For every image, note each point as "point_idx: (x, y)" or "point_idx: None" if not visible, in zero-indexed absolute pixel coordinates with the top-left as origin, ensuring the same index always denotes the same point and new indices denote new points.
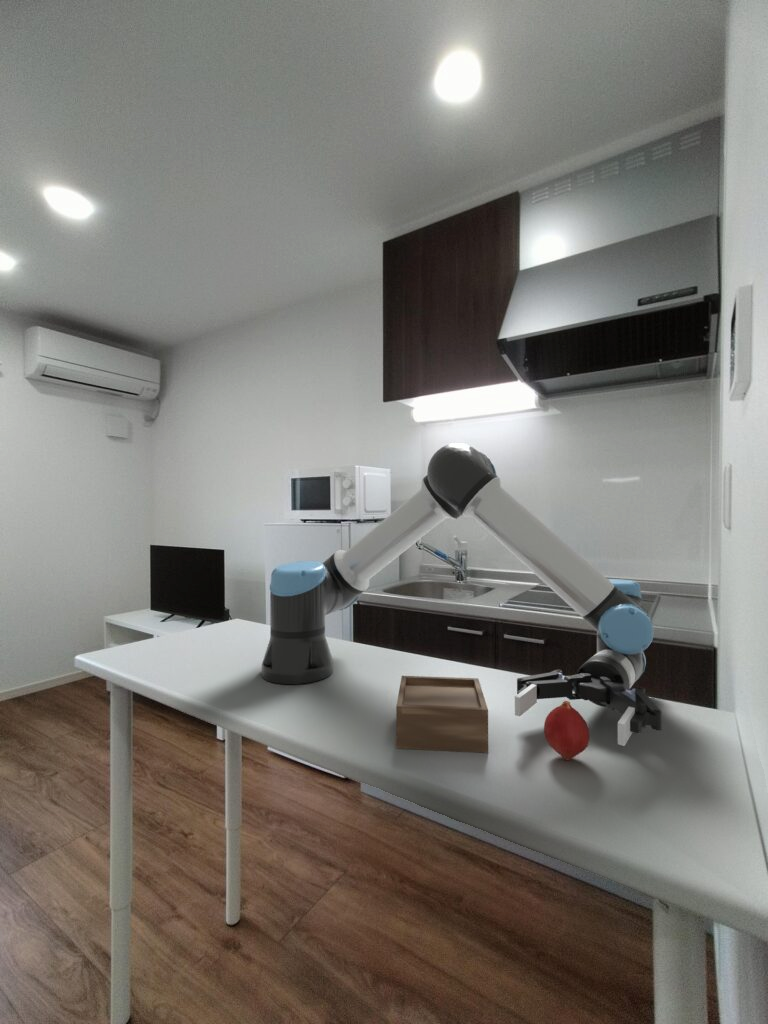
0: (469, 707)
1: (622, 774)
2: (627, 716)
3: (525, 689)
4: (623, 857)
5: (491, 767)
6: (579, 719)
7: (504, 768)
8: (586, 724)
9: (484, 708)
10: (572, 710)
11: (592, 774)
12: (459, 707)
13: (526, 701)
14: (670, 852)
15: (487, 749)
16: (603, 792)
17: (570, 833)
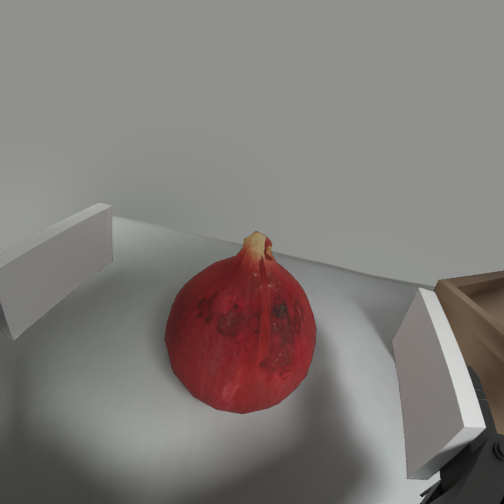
0: (467, 282)
1: (98, 353)
2: (57, 226)
3: (456, 350)
4: (173, 229)
5: (363, 326)
6: (204, 269)
7: (344, 328)
8: (176, 300)
9: (448, 284)
10: (231, 258)
11: None
12: (475, 279)
13: (416, 356)
14: (120, 234)
15: None
16: (162, 301)
17: (223, 244)
